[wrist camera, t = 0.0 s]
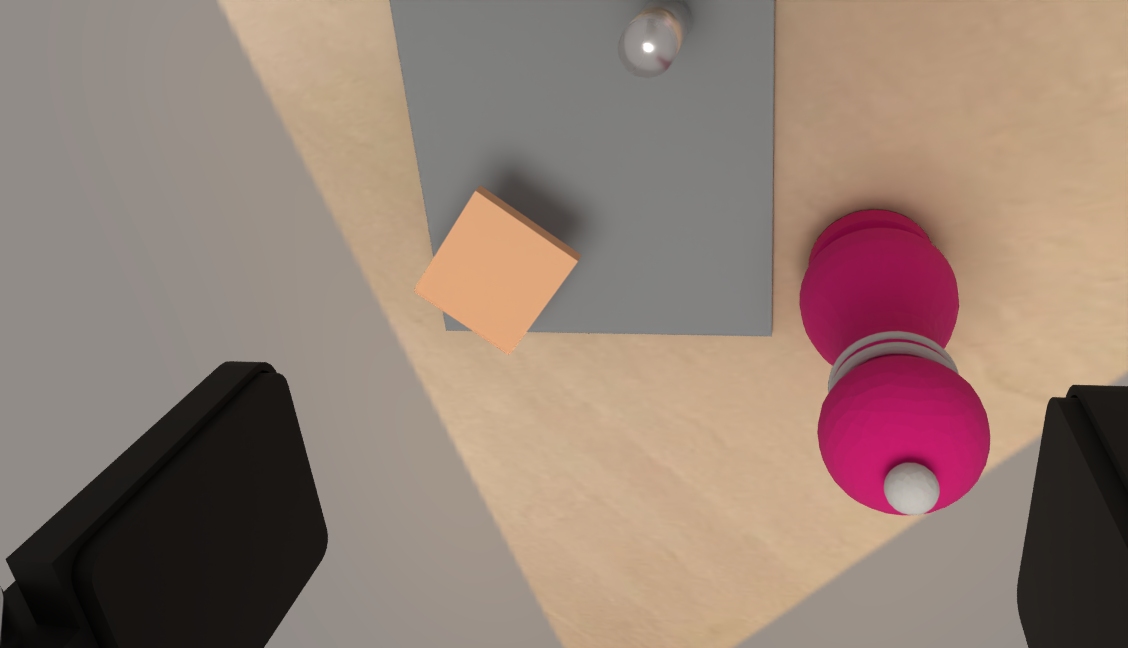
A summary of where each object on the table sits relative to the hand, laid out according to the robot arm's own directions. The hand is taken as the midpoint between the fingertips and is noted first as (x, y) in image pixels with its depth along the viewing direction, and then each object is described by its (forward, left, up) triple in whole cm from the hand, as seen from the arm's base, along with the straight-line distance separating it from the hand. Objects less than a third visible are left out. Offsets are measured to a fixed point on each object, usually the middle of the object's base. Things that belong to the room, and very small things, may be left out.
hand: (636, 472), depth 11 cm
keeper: (+11, -13, -37) cm, 40 cm away
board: (+2, -8, -37) cm, 38 cm away
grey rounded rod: (0, -4, -37) cm, 37 cm away
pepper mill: (+13, +6, -37) cm, 40 cm away
